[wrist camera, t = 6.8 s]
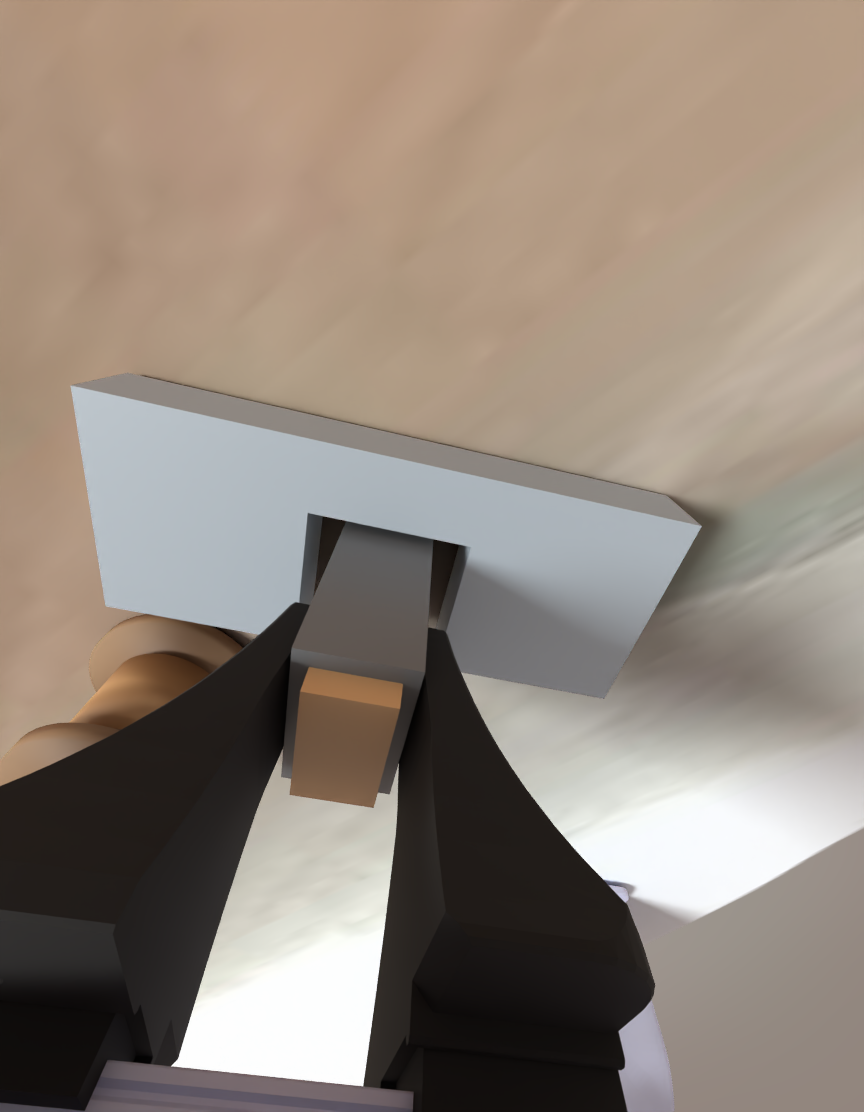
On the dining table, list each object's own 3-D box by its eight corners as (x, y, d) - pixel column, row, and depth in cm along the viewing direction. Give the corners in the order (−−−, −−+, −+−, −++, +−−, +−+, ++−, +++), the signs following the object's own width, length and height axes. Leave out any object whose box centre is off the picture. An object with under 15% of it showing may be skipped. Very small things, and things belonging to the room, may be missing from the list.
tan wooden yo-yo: (267, 632, 17) (201, 752, 12) (260, 744, 20) (207, 874, 16) (88, 598, 16) (-48, 711, 12) (110, 719, 20) (8, 845, 15)
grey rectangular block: (433, 526, 14) (423, 697, 8) (409, 627, 16) (386, 820, 10) (351, 509, 14) (281, 671, 8) (337, 613, 16) (272, 802, 10)
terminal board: (666, 495, 14) (701, 526, 12) (586, 654, 17) (604, 698, 15) (127, 372, 13) (70, 385, 11) (147, 569, 16) (105, 606, 14)
